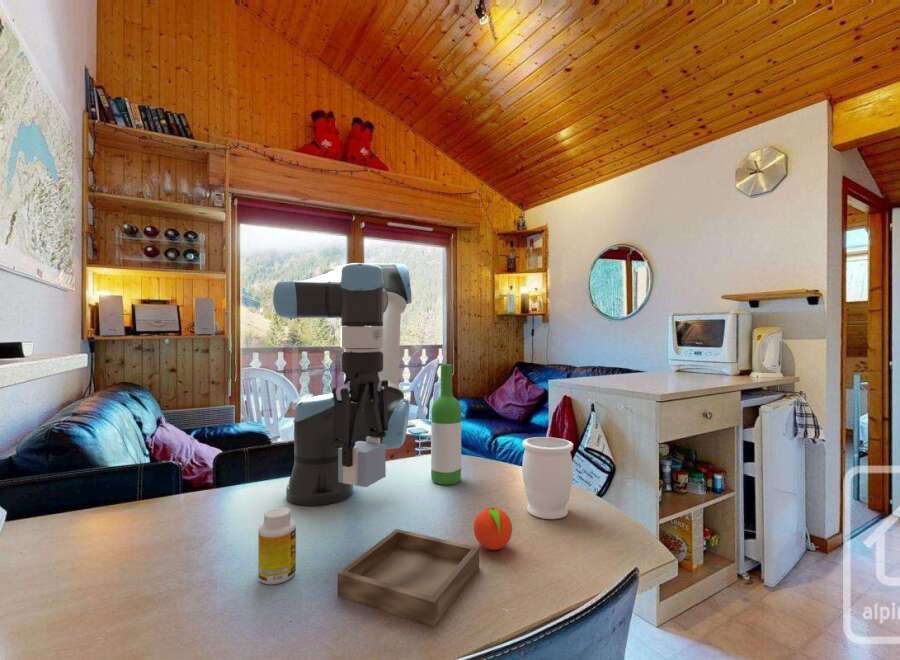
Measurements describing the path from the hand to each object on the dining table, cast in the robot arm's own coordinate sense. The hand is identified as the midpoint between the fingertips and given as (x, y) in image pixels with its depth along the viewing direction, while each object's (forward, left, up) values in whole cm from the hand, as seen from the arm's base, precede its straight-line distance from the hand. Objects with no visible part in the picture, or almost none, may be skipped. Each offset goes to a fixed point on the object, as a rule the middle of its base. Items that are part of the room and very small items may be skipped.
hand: (362, 477), depth 80 cm
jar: (+27, +29, -12) cm, 41 cm away
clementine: (+22, +9, -12) cm, 27 cm away
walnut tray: (+14, -6, -12) cm, 20 cm away
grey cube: (0, 0, 0) cm, 0 cm away
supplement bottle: (-6, -14, -12) cm, 20 cm away
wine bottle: (-1, +37, -12) cm, 39 cm away
